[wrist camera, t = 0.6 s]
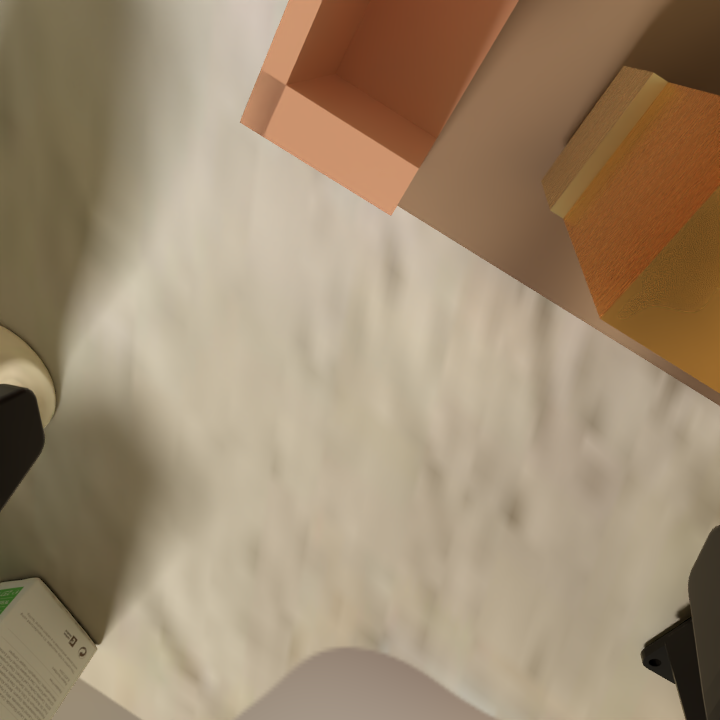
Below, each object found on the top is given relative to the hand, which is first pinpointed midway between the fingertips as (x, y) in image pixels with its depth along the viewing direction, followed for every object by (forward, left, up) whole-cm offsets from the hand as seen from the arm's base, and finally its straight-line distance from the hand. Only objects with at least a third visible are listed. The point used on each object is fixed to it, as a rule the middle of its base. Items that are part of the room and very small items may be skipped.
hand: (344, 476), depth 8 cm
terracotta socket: (+3, -5, -12) cm, 13 cm away
